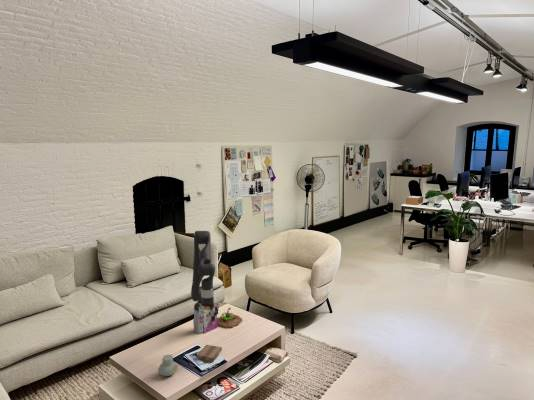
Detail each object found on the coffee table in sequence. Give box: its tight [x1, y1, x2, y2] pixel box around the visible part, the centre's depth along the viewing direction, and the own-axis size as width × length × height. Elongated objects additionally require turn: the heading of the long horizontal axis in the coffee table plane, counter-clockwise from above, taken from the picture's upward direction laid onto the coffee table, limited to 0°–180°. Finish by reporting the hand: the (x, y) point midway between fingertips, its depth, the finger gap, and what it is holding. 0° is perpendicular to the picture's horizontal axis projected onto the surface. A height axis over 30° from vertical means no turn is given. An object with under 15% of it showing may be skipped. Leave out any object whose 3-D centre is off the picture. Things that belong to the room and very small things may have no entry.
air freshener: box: [158, 354, 179, 377], centre depth 221 cm, size 11×8×10 cm
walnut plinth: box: [196, 344, 223, 363], centre depth 240 cm, size 11×13×3 cm
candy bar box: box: [199, 302, 218, 335], centre depth 236 cm, size 11×5×16 cm, turn 136°
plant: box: [217, 307, 243, 329], centre depth 284 cm, size 20×20×11 cm
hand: (208, 320), depth 237 cm, fingers closed on candy bar box, 6 cm apart
